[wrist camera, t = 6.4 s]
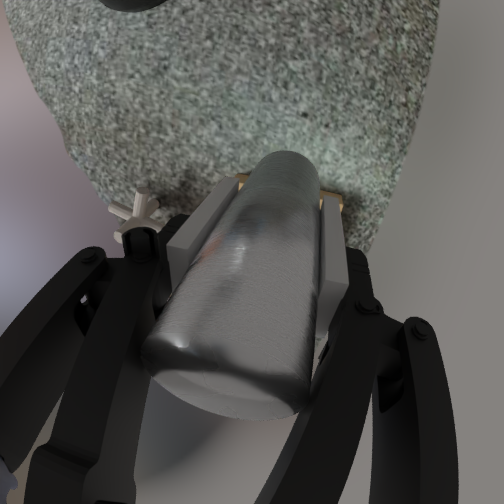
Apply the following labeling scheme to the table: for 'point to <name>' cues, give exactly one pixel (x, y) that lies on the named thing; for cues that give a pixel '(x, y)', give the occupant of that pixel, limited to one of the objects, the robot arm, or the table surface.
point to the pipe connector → (136, 213)
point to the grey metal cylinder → (248, 301)
